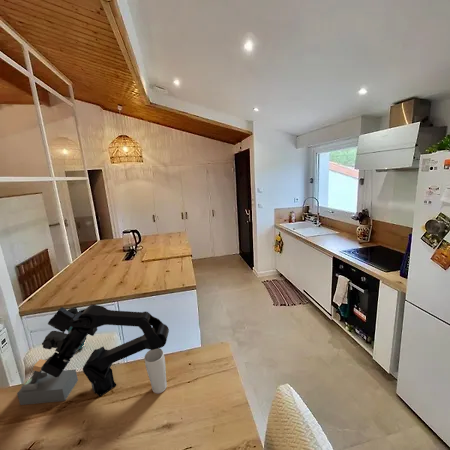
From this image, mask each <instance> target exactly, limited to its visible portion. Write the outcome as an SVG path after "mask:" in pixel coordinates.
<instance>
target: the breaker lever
mask: <svg viewBox="0 0 450 450" xmlns="http://www.w3.org/2000/svg"><path fill="white" fill-rule="evenodd" d="M46 361H47V359H46V360H45V359H42V358H40V359H38V360H37V362H36V363H35V364H34V365H33V367H32V371H33V373H34V374H33V373H32V376H33V377H32V376H31V377H32V381H31V384H35V383H36V382H37V380H38V379H39V378H40V375H41V371H42V370H41V367H42V366H43V365H44V363H45V362H46Z"/></svg>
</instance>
